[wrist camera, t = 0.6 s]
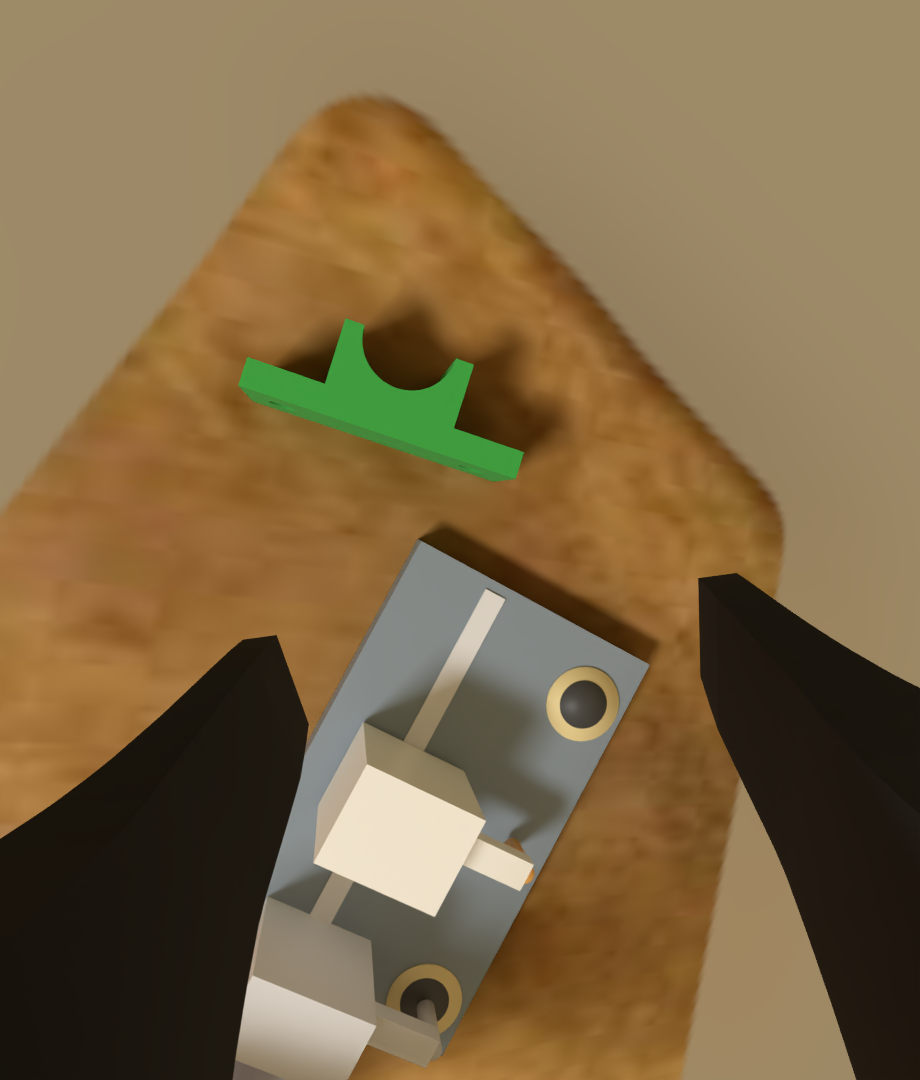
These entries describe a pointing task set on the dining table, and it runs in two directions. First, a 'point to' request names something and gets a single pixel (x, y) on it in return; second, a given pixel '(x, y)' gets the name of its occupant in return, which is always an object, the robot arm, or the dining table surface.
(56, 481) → the dining table surface
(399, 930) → the plate
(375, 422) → the pipe clamp
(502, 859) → the block
